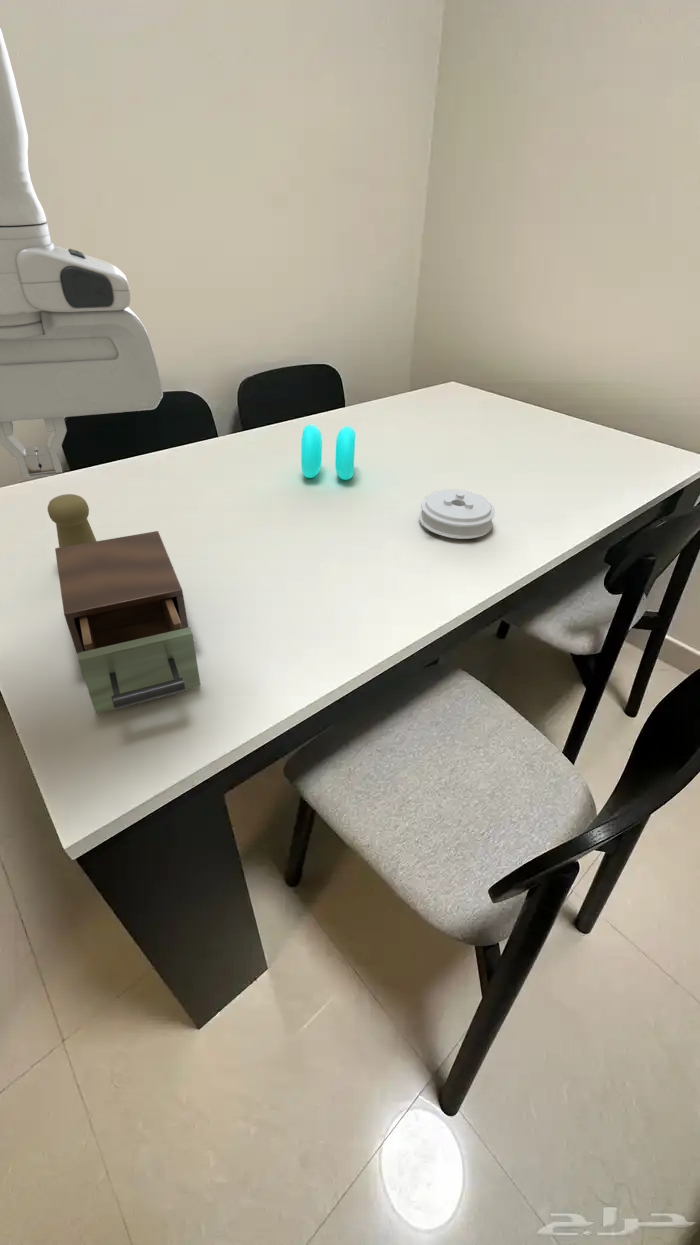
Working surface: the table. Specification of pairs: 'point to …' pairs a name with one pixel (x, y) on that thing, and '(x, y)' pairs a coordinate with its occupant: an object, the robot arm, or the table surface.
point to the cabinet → (115, 578)
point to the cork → (71, 520)
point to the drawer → (136, 655)
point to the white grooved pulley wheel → (457, 513)
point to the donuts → (313, 452)
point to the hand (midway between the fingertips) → (42, 472)
